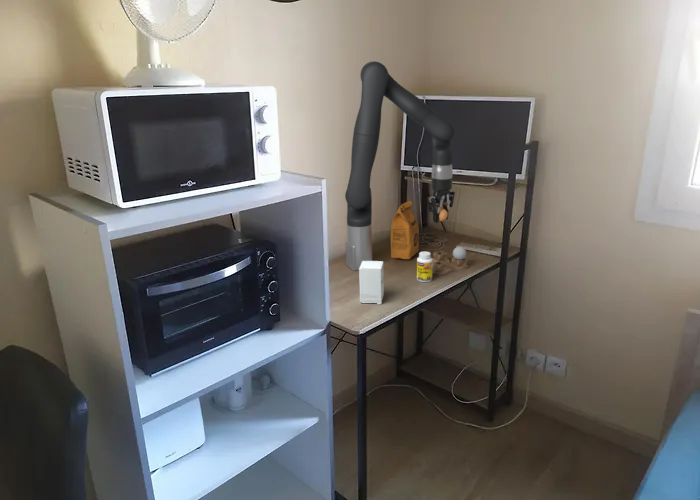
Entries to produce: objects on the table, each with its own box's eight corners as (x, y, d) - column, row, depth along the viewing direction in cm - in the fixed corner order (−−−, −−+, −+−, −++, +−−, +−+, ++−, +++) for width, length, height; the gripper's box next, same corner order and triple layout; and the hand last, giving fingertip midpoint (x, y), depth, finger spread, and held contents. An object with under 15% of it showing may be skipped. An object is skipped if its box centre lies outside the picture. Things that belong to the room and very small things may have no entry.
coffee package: (422, 252, 222) (423, 200, 215) (409, 262, 213) (409, 208, 205) (400, 249, 227) (400, 198, 220) (387, 258, 217) (386, 205, 210)
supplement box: (381, 304, 177) (381, 268, 173) (359, 303, 178) (358, 268, 174) (384, 295, 184) (383, 260, 180) (362, 294, 185) (361, 260, 181)
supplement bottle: (415, 282, 194) (415, 255, 191) (418, 276, 199) (418, 250, 196) (430, 283, 192) (431, 256, 189) (433, 277, 197) (434, 251, 194)
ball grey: (458, 262, 202) (458, 250, 200) (449, 258, 206) (450, 246, 204) (468, 260, 204) (469, 247, 202) (460, 256, 208) (461, 244, 207)
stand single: (438, 264, 209) (439, 256, 208) (431, 260, 213) (431, 252, 212) (449, 262, 211) (449, 254, 210) (441, 258, 215) (442, 250, 214)
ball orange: (441, 223, 202) (442, 210, 200) (431, 221, 205) (431, 208, 204) (450, 220, 205) (450, 208, 204) (439, 218, 209) (439, 205, 207)
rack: (437, 275, 199) (438, 266, 198) (430, 271, 203) (430, 262, 202) (468, 268, 205) (468, 259, 204) (460, 264, 209) (460, 255, 208)
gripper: (438, 181, 192) (436, 226, 198) (462, 174, 202) (460, 218, 207) (421, 178, 198) (420, 223, 203) (445, 171, 207) (444, 215, 212)
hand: (440, 220), depth 205 cm, fingers closed on ball orange, 5 cm apart
